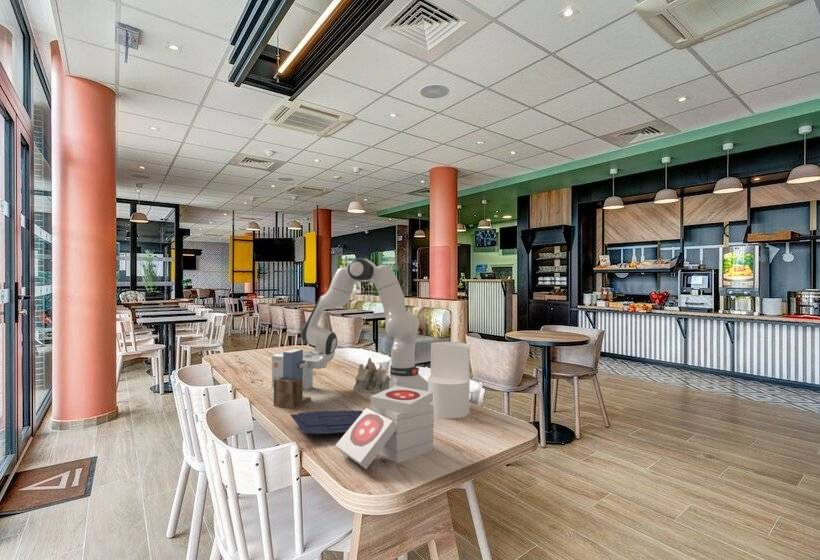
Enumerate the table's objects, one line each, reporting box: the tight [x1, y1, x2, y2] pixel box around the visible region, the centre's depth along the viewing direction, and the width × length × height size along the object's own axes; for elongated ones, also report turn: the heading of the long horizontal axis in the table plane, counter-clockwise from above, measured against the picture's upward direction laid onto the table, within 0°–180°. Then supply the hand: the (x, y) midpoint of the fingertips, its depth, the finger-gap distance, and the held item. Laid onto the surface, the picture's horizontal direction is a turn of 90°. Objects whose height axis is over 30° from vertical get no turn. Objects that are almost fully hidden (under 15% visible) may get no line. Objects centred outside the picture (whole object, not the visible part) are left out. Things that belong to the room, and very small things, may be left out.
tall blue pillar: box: [283, 348, 304, 381], centre depth 179 cm, size 4×8×15 cm, turn 160°
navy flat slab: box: [290, 409, 364, 435], centre depth 152 cm, size 24×30×4 cm
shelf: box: [273, 377, 312, 410], centre depth 179 cm, size 11×12×12 cm
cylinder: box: [427, 341, 471, 419], centre depth 169 cm, size 17×17×28 cm
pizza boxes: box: [335, 386, 435, 470], centre depth 129 cm, size 19×30×18 cm, turn 128°
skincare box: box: [271, 353, 314, 391], centre depth 205 cm, size 21×5×16 cm, turn 73°
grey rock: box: [352, 357, 391, 394], centre depth 202 cm, size 16×16×15 cm
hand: (293, 365), depth 180 cm, fingers closed on tall blue pillar, 4 cm apart
